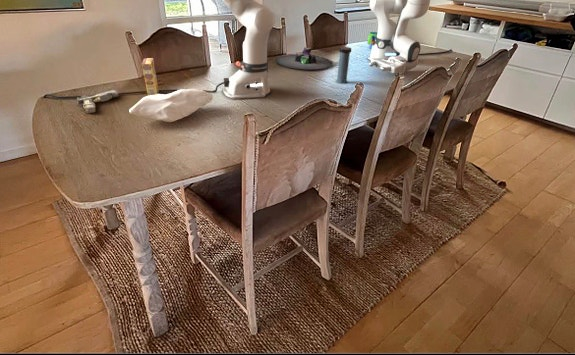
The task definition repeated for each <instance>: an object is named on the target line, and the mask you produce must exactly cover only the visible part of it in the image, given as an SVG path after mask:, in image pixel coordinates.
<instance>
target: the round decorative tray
mask: <svg viewBox="0 0 575 355" xmlns="http://www.w3.org/2000/svg"><path fill="white" fill-rule="evenodd" d="M275 62H276V63H277V64H278V65H280V66H282V67H287V68H291V69H296V70H297V69H298V70H306V71H307V70H308V71H309V70H323V69H327V68H330V67H332V66H333V64H334V63H333V61H332V60H329V59H328V58H326V57H320V56H317V55H314V54H312V48H311V47H307V46H305V47H304V48H303V49H302V52H301V53H298V52H296V53H295V54H289V55H283V56H278V57H276V59H275Z"/></svg>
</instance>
